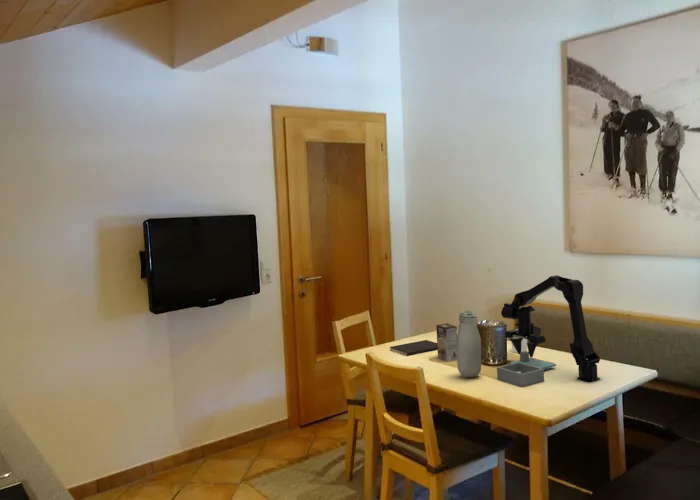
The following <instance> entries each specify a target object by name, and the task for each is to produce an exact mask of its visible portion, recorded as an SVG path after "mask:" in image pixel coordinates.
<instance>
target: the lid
mask: <svg viewBox="0 0 700 500" xmlns="http://www.w3.org/2000/svg"><path fill="white" fill-rule="evenodd" d="M517 362H520V363H523V364H527V365H531V366H534V367H538V368H542V369H544V371H547V370H551V368H553V367H557V364H556V363H554V362H550V361H546V360H545V361H544V360H541V359H537V358H534V357H530V355H529V351H527V352H526V351H523V352H520V355H519V360H515V361H511V362H509V364H513V363H517Z"/></svg>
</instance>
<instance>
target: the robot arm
mask: <svg viewBox="0 0 700 500" xmlns="http://www.w3.org/2000/svg"><path fill="white" fill-rule="evenodd" d="M552 288H553V289H556V290H557V291H559V292H562V294H563V295H562V296H563V297H564V300H565V301H566V302H567V303H568V309H569V315H570V321H571V327H572V334H573V342H569V349H570V354H571V355H572V357H573V358H574V362H575V364H576V366H578V376H577V377H576V379H577V380H580V381H585V382H588V383H592V382H595V381H598V380H600V379H601V377H598V364H599V363H600V361H601V357H600V356H599V355H598V354H597V352H595V349H594V347H593V343H592V342H591V341H590V339H589V337H588V334H587V329H586V323H585V322H586V321H585V318H584V311H583V305H582V299H583V297H584V284H583V283H582V282H581V280H578V279H571V278H568V277H563V276H561V275H556V274H555V275H552V276H551V275H550V276H549V277H548V278H547V279H545V280H543V281H541V282H539V283H538V284H537V285H535V286H533V287H532V288H530V289H527V290H523V291H520V292H518V293H516V294H514V296H513V297H514V299H513V300H512V302H511V303H507V302H506V303H504V305H503V306H502V309H501V311H500V313H501V314H500V315H501V317H502V318H503V319H509V320H517V322H516V323H515V326H517V329H510V330H507V331H505V333H504V334H505V338H508V340H510V342H512V343H513V345H514V347H515V349H516V350H517V352H518V353H517V354H518V356H520V352H521V341H522V339H523V338H524V339H527V341H529V342H527V352H529V358H534V357H533V356H534V353H535V351H536V348H537V347H538V345H539V344H543V343H546V337H545V336H544V335H542V330H543V328H541V327H537V326H534V325H535V324H534V323H533V322H532V316H531V315H532V314H531V313H532V312H535V311H536V309H535V308H534V307H533V306H532V305H531V304H532V303H533V302H534V301H535V300H536V299H537V298H538V297H539V296H540V295H543V294H544V293H546V292H548V291H549V290H551V289H552ZM512 343H511V344H512Z"/></svg>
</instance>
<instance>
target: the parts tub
mask: <svg viewBox="0 0 700 500" xmlns="http://www.w3.org/2000/svg"><path fill="white" fill-rule="evenodd" d="M496 378H497V380H498V381H502V382H505V383H508V384H512V385H515V386H517V387H521V388H524V387H528V386H533V385H536V384H538V383H539V384H540V383H544V382H545V370H544V369H542V368H538V367H534V366H531V365H527V364H523V363H520V362H517V363H513V364H510V363H508V364H505V365H500V366H497V367H496Z"/></svg>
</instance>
